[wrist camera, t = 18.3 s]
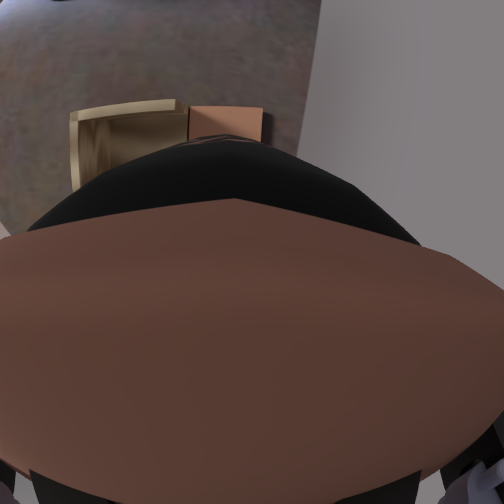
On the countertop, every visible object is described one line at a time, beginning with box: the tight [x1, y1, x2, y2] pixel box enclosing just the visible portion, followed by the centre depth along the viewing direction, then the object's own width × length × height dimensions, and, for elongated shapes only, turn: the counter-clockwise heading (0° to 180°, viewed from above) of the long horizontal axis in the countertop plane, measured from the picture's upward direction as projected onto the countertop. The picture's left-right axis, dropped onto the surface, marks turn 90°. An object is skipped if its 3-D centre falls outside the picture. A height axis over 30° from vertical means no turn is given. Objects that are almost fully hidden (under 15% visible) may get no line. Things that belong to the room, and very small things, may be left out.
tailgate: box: [189, 106, 263, 142], centre depth 37 cm, size 18×1×10 cm
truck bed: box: [70, 99, 189, 193], centre depth 32 cm, size 24×13×14 cm, turn 176°
